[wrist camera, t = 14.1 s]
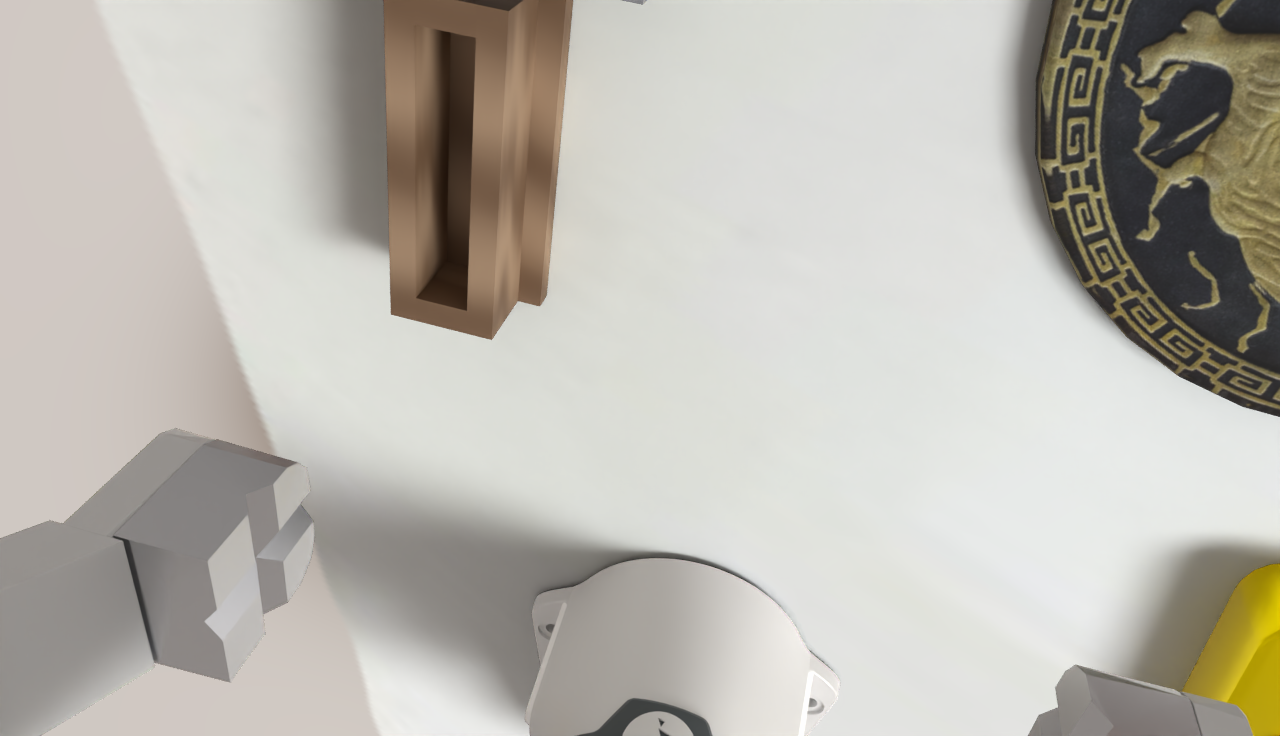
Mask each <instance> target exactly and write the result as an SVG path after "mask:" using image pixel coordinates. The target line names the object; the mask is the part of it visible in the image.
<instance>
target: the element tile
mask: <svg viewBox="0 0 1280 736" xmlns="http://www.w3.org/2000/svg"><path fill="white" fill-rule="evenodd" d="M1181 692H1186V693H1190V694H1194V695H1198V696H1202V697H1206V698H1210V699H1214V700H1218V701H1222V702H1226V703H1230V704H1234V705H1237V706H1238V707H1239V708H1240V709H1241V711H1242V712H1243V713H1244V714H1245V715H1246V717H1247V719H1248V722H1249V725H1250V728H1251V731H1252V733H1253V736H1280V564H1270V565H1267V566H1264V567H1262V568H1259V569H1256V570H1254V571H1252V572H1251V573H1250V574H1248V575H1247V576H1246V577H1244V578H1243V579H1242V580H1241V581H1240V583H1239V584H1238V585H1237V586H1236V588H1235V589H1234V591H1233V593H1232V595H1231V597H1230V599H1229V601H1228V603H1227V605H1226V607H1225V609H1224V611H1223V613H1222V615H1221V616H1220V618H1219V620H1218V622H1217V624H1216V626H1215V628H1214V630H1213V632H1212V634H1211V636H1210V638H1209V640H1208V641H1207V643H1206V645H1205V647H1204V649H1203V651H1202V653H1201V655H1200V657H1199V659H1198V661H1197V663H1196V665H1195V666H1194V668H1193V670H1192V672H1191V674H1190V676H1189V678H1188V680H1187V682H1186V684H1185V686H1184V688H1183V690H1182V691H1181Z"/></svg>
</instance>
